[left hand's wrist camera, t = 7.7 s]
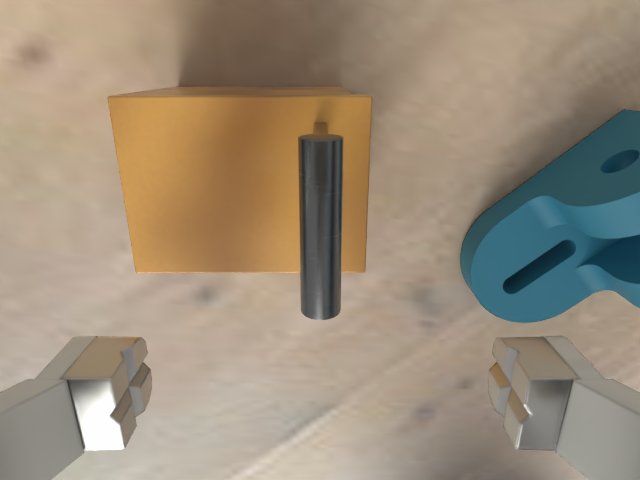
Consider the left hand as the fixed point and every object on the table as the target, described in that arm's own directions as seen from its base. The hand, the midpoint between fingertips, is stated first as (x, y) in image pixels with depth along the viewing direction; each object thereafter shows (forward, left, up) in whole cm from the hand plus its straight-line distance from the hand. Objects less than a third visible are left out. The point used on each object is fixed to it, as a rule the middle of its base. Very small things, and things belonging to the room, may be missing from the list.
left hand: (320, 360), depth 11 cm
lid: (+4, 0, -17) cm, 17 cm away
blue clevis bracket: (-20, +8, -28) cm, 35 cm away
